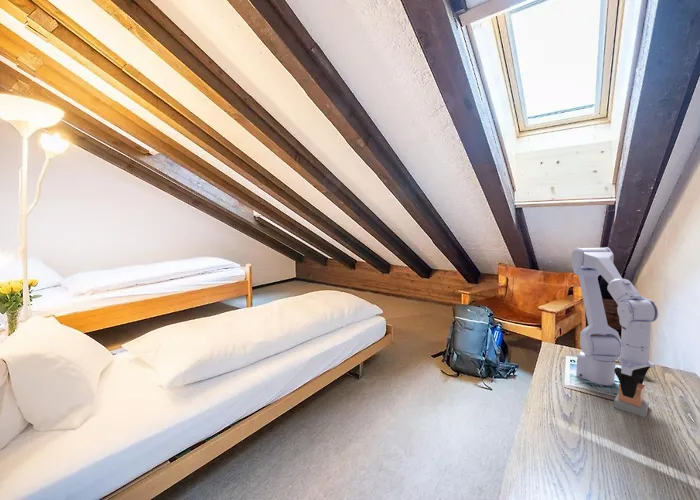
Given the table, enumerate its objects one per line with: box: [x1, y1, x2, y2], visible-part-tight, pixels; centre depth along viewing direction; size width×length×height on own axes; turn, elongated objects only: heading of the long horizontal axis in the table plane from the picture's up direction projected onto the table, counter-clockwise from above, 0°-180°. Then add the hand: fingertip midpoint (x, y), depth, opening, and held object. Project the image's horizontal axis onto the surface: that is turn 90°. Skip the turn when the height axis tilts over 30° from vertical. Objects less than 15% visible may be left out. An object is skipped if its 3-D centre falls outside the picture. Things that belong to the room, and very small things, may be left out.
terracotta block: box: [618, 383, 646, 407], centre depth 87 cm, size 4×4×4 cm
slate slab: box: [613, 391, 650, 418], centre depth 87 cm, size 6×6×2 cm
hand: (631, 391), depth 87 cm, fingers open, 7 cm apart
